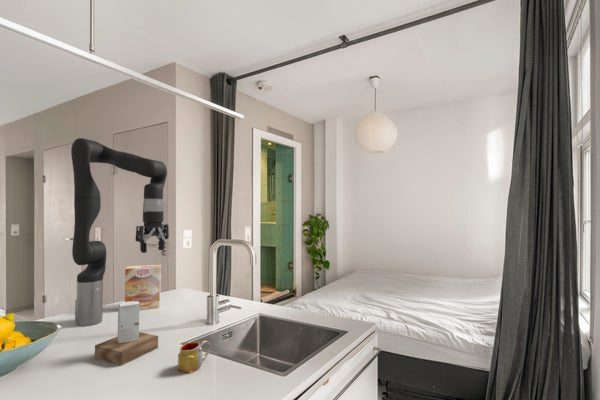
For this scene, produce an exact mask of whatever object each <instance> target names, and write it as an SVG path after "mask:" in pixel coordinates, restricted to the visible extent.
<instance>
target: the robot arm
mask: <svg viewBox="0 0 600 400" xmlns="http://www.w3.org/2000/svg"><path fill="white" fill-rule="evenodd" d="M70 153H71V163H72V170H73V171H72V172H73V185H74V186H73V189H74V195H73V197H74V198H73V199H74V202H73V203H74V205H73V208H74V210H73V211H74V229H73V240H72V249H71V250H72V251H71V254H72V255H71V256H72V260H73V262H74V264H76V265H78V266H85V265H87V266H86V268H84V270H82V271H81V272H79V273H78V274H77V276H76V299H75V301H74V303H75V304H74V306H75V307H74V323H75V324H76V326H78V327H79V326H80V327H82V326H83V327H85V326H86V327H87V326H88V327H89V326H93V325H96V324H99V323H101V322H102V321H103V313H104V311H103V310H104V308H103V307H104V275H105V272H106V264H107V248H106V244H105V243H104V242H102V241H101V240H90V233H91V229H92V226H93V225H94V223H95V221H96V220H97V218H98V216H99V214H100V211H101V207H102V206H101V199H102V198H101V193H100V189H99V187H98V185H97V183H96V182H95V180H94V178H93V175H92V173H91V164H92V163H93V164H95V163H96V164H98V163H99V164H100V163H101V164H109V165H112V166H115V167H116V168H118V169H121V170H124V171H126V172H131V173H135V174H138V175H140V176H143V177H147V178H150V179H149V180H150V181H149V183H148V184H145V185H144V187H143V201H142V222H143V225H137V226H136V229H135V242H137V243H139V244H140V245H139V246H140V248H139V249H140V253H143V254H146V253H147V251H148V246H147V245H148V244H147V242H148V240H149V239H150V238H151V237H156V238H157V239H158V247H157V248H158V249H157V250H158V251H164V249H165V241H166V240H168V239H169V237H170V236H169V234H170V233H169V232H170V230H169V224H167V223H165V224H164V223H163V222H164V187H165V184H166V180H167V175H168V169H167V165H166V164H165V163H164V162H163V161H161V160H160V161H159V160H155V159H151V158H146V157H143V156H140V155H137V154H134V153H131V152H126V151H120V150H116V149H113V148H111V147H108V146H106V145H104V144H103V143H100V142H98V141H96V140H91V139H88V138H83V137H82V138H81V137H80V138H78V137H77V138H76V139H75V140H74V141H73V143H72V145H71V149H70Z"/></svg>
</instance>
